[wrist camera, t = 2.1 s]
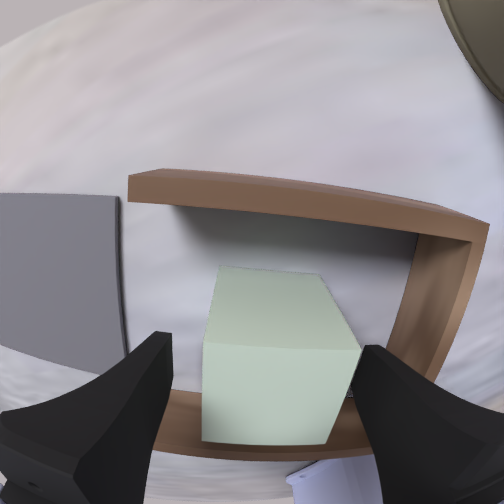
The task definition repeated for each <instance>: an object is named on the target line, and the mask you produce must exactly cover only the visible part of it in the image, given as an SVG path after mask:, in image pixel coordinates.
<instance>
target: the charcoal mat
mask: <svg viewBox="0 0 504 504" xmlns="http://www.w3.org/2000/svg"><path fill="white" fill-rule="evenodd" d="M0 345H2V346H5V347H8V348H10V349H13V350H16V351H19V352H22V353H25V354H28V355H31V356H34V357H37V358H40V359H43V360H47V361H50V362H53V363H57V364H60V365H64V366H67V367H71V368H75V369H79V370H83V371H87V372H91V373H95V374H99V375H102V374H103V373H105V372H106V371H108V370H109V369H110V368H112V367H113V366H114V365H116V364H117V363H119V362H120V361H121V360H122V359H124V358H125V357H126V356H127V351H126V343H125V335H124V326H123V316H122V304H121V291H120V275H119V250H118V196H103V195H78V194H41V193H0Z"/></svg>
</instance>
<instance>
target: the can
mask: <svg viewBox="0 0 504 504" xmlns="http://www.w3.org/2000/svg"><path fill="white" fill-rule="evenodd" d="M438 2H439V5H440V8H441V11H442V13H443V16H444V18H445V20H446V23H447V25H448V27H449V29H450V31H451V33H452V35H453V37H454V39H455V41H456V43H457V44H458V46H459V48H460V49H461V51H462V53H463V55H464V56H465V58H466V59H467V61H468V62H469V64H470V65H471V67H472V68H473V70H474V71H475V72H476V74H477V75H478V76H479V78H480V79H481V80H482V81H483V83H484V84H485V85H486V86H487V88H488V89H489V90H490V91H491V92H492V93H493V94H494V95H495V96H496V97H497V98H498V99H499V100H500V101H501V102H503V103H504V0H438Z"/></svg>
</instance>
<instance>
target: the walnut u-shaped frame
mask: <svg viewBox="0 0 504 504" xmlns="http://www.w3.org/2000/svg"><path fill="white" fill-rule="evenodd" d="M128 202H139V203H154V204H168V205H181V206H194V207H206V208H217V209H228V210H239V211H249V212H259V213H269V214H278V215H287V216H296V217H305V218H314V219H322V220H330V221H338V222H346V223H353V224H361V225H368V226H376V227H383V228H390V229H397V230H403V231H410V232H416V233H419V236H418V241H417V245H416V249H415V254H414V258H413V262H412V266H411V270H410V273H409V277H408V281H407V284H406V288H405V292H404V295H403V298H402V302H401V305H400V308H399V311H398V315H397V318H396V321H395V324H394V327H393V330H392V333H391V336H390V338H389V341H388V344H387V347H386V350H388V351H389V352H391V353H392V354H393V355H395V356H396V357H397V358H399V359H400V360H401V361H403V362H404V363H405V364H407V365H408V366H409V367H411V368H412V369H414V370H415V371H416V372H418V373H419V374H421V375H422V376H423V377H425V378H426V379H428V380H429V381H431V382H433V383H434V382H435V380H436V378H437V376H438V374H439V371H440V369H441V367H442V365H443V363H444V361H445V359H446V357H447V354H448V352H449V350H450V347H451V345H452V343H453V340H454V338H455V336H456V333H457V331H458V328H459V326H460V323H461V320H462V318H463V315H464V312H465V310H466V307H467V304H468V301H469V298H470V295H471V292H472V289H473V286H474V283H475V280H476V276H477V273H478V270H479V266H480V263H481V259H482V255H483V251H484V247H485V243H486V239H487V235H488V230H489V226H490V224H488V223H486V222H483V221H481V220H478V219H475V218H473V217H470V216H467V215H465V214H462V213H459V212H457V211H454V210H451V209H448V208H445V207H442V206H439V205H436V204H431V203H427V202H422V201H417V200H412V199H407V198H402V197H397V196H392V195H386V194H381V193H375V192H370V191H364V190H358V189H352V188H346V187H339V186H333V185H326V184H319V183H312V182H305V181H297V180H289V179H281V178H272V177H263V176H254V175H244V174H233V173H222V172H210V171H196V170H181V169H157V170H152V171H147V172H142V173H138V174H133V175H129V178H128ZM153 450H156V451H162V452H168V453H174V454H181V455H188V456H196V457H205V458H215V459H227V460H243V461H310V460H326V459H338V458H348V457H357V456H365V455H372V454H373V450H372V448H371V445H370V442H369V440H368V437H367V434H366V432H365V429H364V427H363V424H362V421H361V419H360V416H359V413H358V411H357V408H356V405H355V401H354V398H344V401H343V403H342V406H341V408H340V411H339V413H338V415H337V418H336V420H335V423H334V425H333V427H332V430H331V432H330V434H329V436H328V439H327V441H326V443H325V444H316V445H248V444H231V443H218V442H208V441H202V393H194V392H186V391H179V390H172V389H171V391H170V396H169V400H168V403H167V406H166V409H165V412H164V415H163V418H162V421H161V424H160V427H159V430H158V433H157V436H156V439H155V442H154V446H153Z"/></svg>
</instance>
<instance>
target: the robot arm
mask: <svg viewBox="0 0 504 504" xmlns="http://www.w3.org/2000/svg"><path fill="white" fill-rule="evenodd" d="M172 381H173V354H172V333H167V332H159V331H155V332H154V333H152V334H151V335H150V336H149V337H148V338H147V339H146V340H144V341H143V342H142V343H141V344H140V345H139V346H138V347H137V348H135V349H134V350H133V351H132V352H131V353H130V354H128V355H127V356H126V357H125V358H124V359H122V360H121V361H120V362H119V363H117V364H116V365H114V366H113V367H112V368H110V369H109V370H108V371H106V372H105V373H103V374H102V375H100V376H99V377H97V378H96V379H94V380H92V381H90V382H89V383H87V384H85V385H83V386H81V387H79V388H77V389H75V390H73V391H71V392H68V393H66V394H64V395H62V396H60V397H57V398H54V399H52V400H49V401H46V402H43V403H39V404H36V405H33V406H29V407H24V408H20V409H15V410H10V411H4V412H2V413H1V414H0V471H1V473H2V474H3V475H4V476H5V477H6V478H7V481H6V483H5V486H3V485H2V484H1V483H0V504H143V501H144V494H145V487H146V481H147V474H148V469H149V463H150V458H151V453H152V450H153V446H154V442H155V439H156V436H157V433H158V430H159V427H160V424H161V421H162V418H163V415H164V412H165V409H166V406H167V403H168V400H169V396H170V391H171V386H172ZM351 387H352V392H353V397H354V401H355V405H356V408H357V411H358V413H359V416H360V419H361V421H362V424H363V427H364V429H365V432H366V434H367V437H368V440H369V442H370V445H371V448H372V450H373V454H372V455H365V456H357V457H348V458H338V459H326V460H320V461H318V462H316V463H314V464H312V465H310V466H308V467H306V468H304V469H302V470H300V471H298V472H295V473H293V474H291V475H289V476H287V477H286V482H287V483H288V484H291V485H292V489H293V496H294V504H504V413H500V412H496V411H493V410H489V409H486V408H483V407H480V406H478V405H475V404H473V403H470V402H468V401H465V400H463V399H461V398H459V397H457V396H455V395H453V394H451V393H449V392H448V391H446V390H444V389H442V388H440V387H439V386H437V385H436V384H434V383H433V382H431V381H429V380H428V379H426V378H425V377H423V376H422V375H421V374H419V373H418V372H416V371H415V370H414V369H412V368H411V367H409V366H408V365H407V364H405V363H404V362H403V361H401V360H400V359H399V358H397V357H396V356H395V355H393V354H392V353H391V352H389V351H388V350H386V349H385V348H383V347H382V346H380V345H365V347H364V350H363V353H362V356H361V359H360V362H359V364H358V367H357V370H356V373H355V375H354V378H353V381H352V383H351Z"/></svg>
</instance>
